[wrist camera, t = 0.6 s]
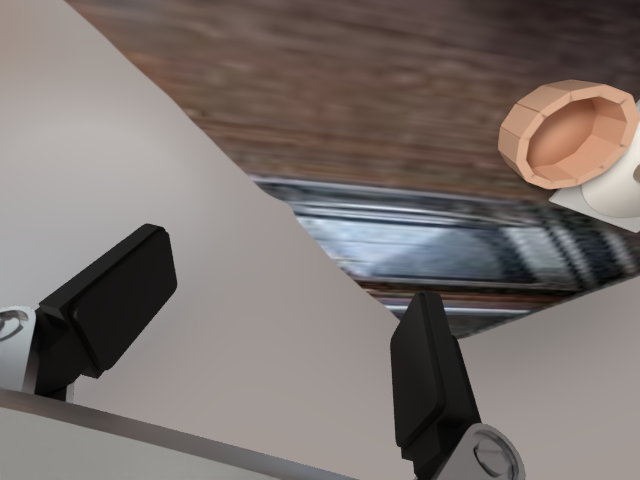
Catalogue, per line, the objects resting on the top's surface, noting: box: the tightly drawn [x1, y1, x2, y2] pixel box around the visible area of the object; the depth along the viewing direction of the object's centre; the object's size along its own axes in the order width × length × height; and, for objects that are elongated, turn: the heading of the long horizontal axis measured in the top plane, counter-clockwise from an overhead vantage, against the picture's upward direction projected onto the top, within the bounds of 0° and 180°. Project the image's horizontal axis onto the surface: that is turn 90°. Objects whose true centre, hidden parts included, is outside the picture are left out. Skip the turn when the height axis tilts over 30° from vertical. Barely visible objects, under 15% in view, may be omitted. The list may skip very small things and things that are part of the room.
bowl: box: [498, 79, 640, 189], centre depth 34 cm, size 11×11×6 cm
